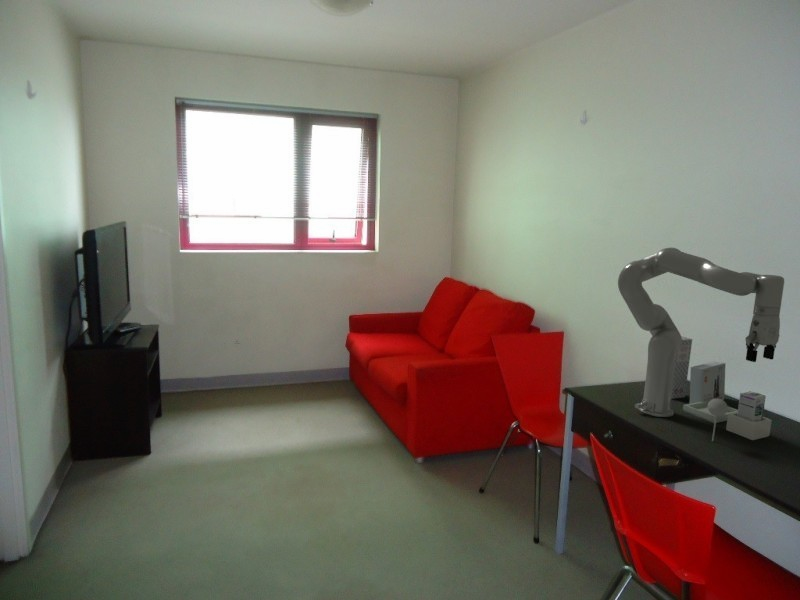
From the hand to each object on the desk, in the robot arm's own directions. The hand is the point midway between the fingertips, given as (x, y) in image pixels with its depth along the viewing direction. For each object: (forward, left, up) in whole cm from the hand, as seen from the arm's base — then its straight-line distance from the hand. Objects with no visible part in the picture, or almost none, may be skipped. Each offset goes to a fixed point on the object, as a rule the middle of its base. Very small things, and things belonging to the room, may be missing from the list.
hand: (759, 359), depth 190 cm
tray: (+5, +17, -27) cm, 32 cm away
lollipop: (-19, 0, -27) cm, 33 cm away
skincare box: (+17, +27, -28) cm, 42 cm away
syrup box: (0, 0, -27) cm, 27 cm away
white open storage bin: (0, 0, -27) cm, 27 cm away
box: (+9, +39, -27) cm, 49 cm away
